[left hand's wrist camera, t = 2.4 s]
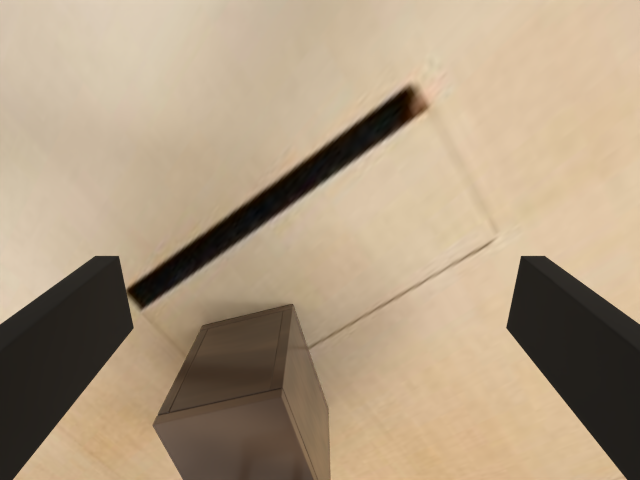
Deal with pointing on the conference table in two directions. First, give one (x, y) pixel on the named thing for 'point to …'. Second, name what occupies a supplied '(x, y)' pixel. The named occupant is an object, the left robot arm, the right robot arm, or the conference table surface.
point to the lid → (236, 440)
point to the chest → (257, 373)
